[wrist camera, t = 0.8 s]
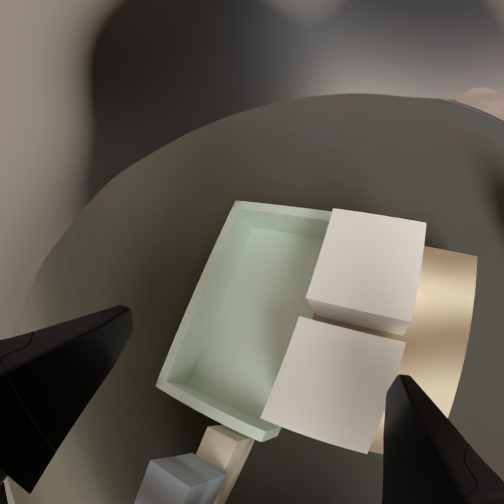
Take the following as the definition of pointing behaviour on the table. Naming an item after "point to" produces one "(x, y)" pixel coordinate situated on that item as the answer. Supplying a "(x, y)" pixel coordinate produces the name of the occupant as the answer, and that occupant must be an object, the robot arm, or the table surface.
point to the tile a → (334, 384)
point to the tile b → (368, 270)
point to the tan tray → (433, 328)
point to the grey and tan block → (198, 471)
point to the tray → (245, 314)
